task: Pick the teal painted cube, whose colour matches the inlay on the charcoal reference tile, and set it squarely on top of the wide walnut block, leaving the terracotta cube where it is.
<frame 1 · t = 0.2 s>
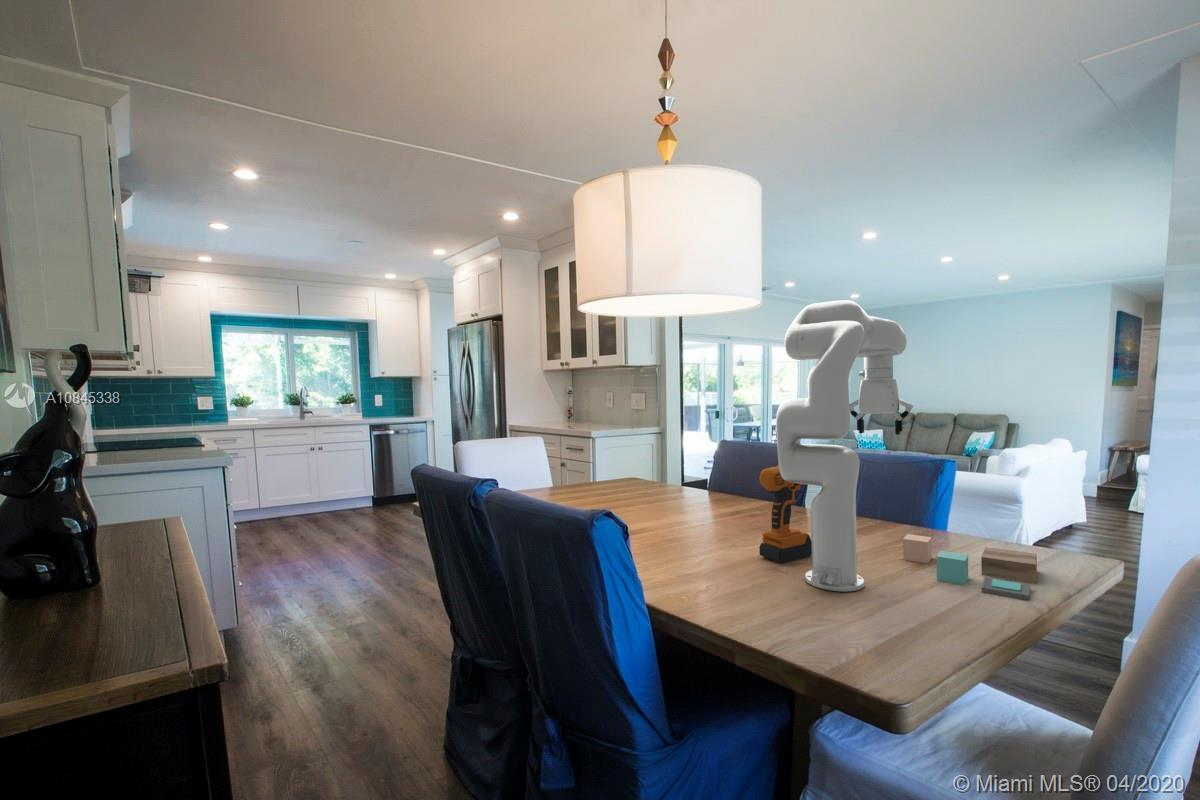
hand: (879, 433, 159), 31 cm above the table, fingers open, 9 cm apart
power drill: (792, 556, 146), on the table
teal block: (952, 579, 126), on the table
reference tile: (1006, 590, 118), on the table
walnut block: (1009, 574, 129), on the table
terracotta block: (917, 559, 141), on the table
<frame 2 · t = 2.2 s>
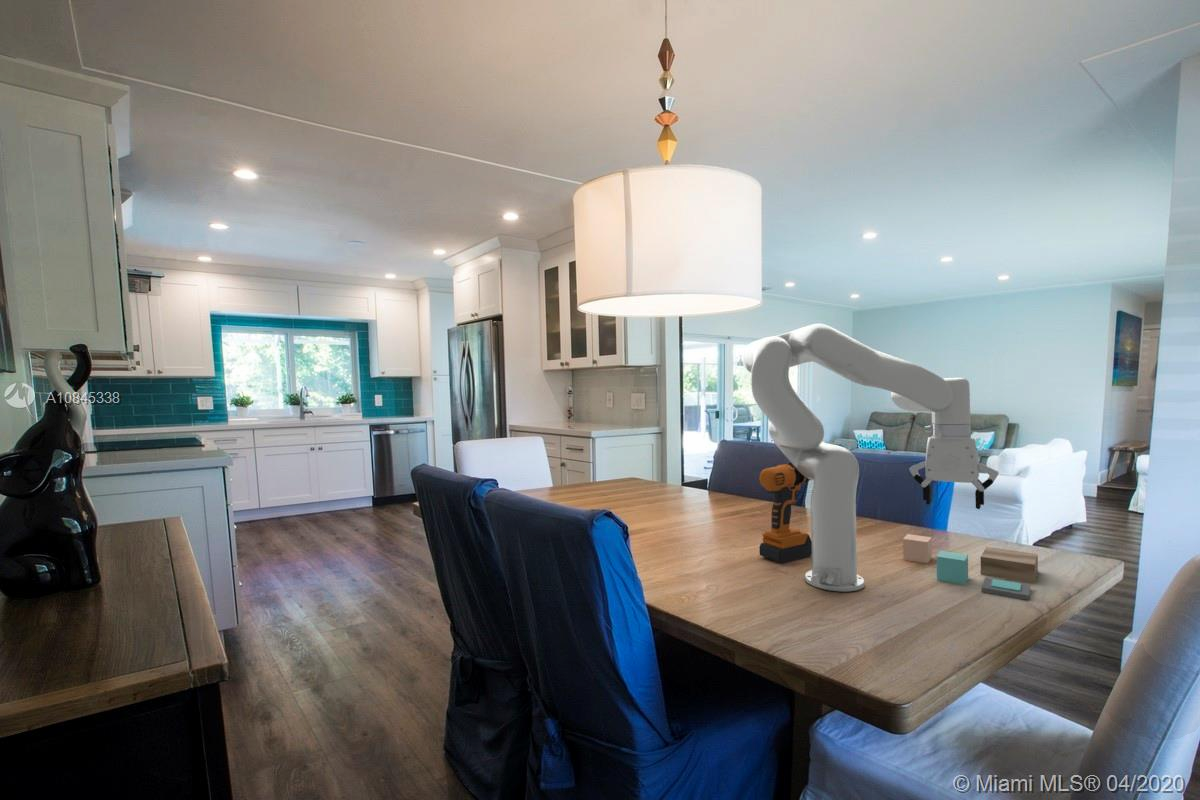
hand: (953, 505, 126), 17 cm above the table, fingers open, 9 cm apart
nothing on the table moved.
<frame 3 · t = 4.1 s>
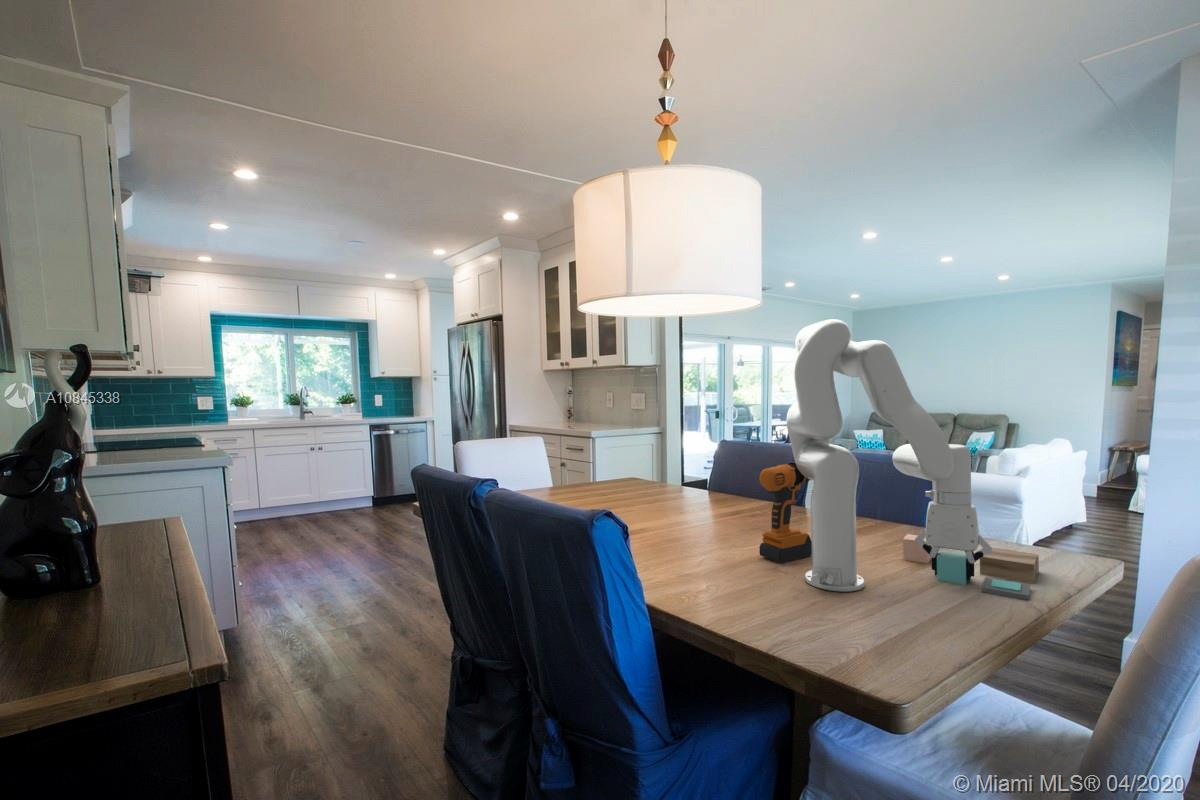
hand: (952, 575, 126), 1 cm above the table, fingers closed on teal block, 5 cm apart
teal block: (952, 578, 126), on the table, touching gripper
everything else where it was.
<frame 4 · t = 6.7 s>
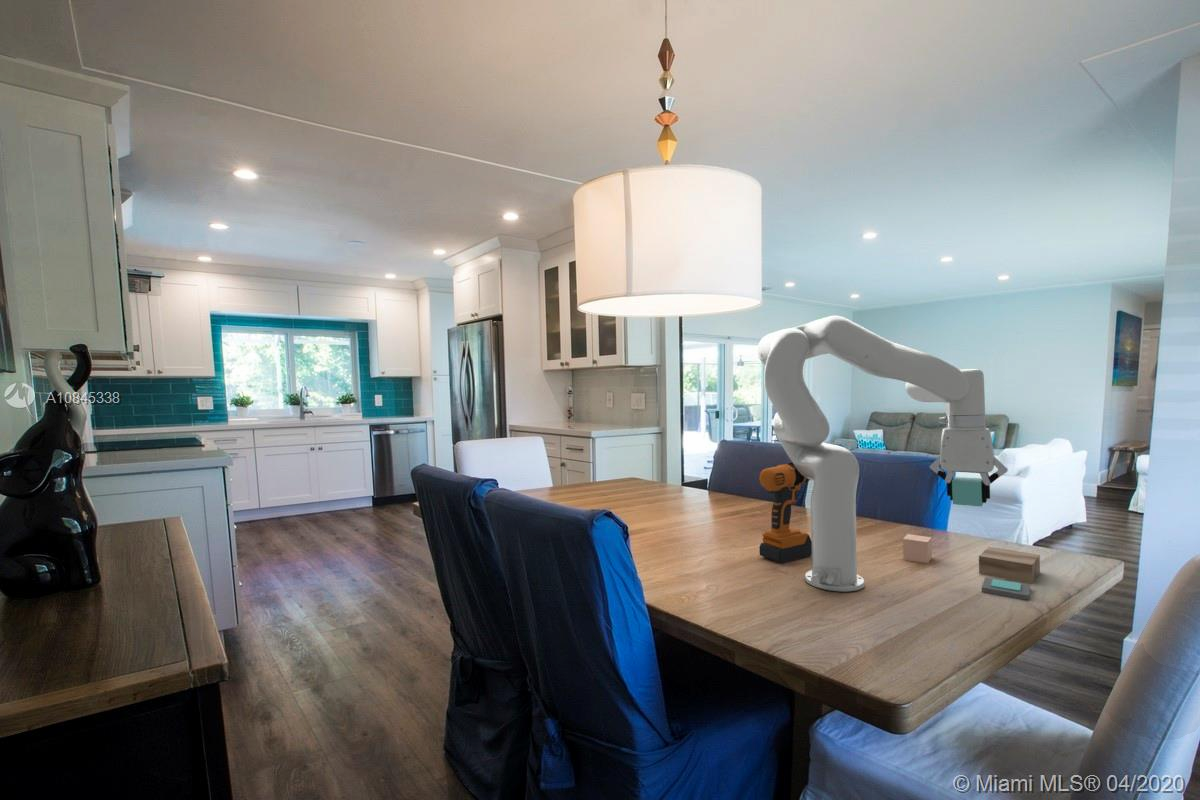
hand: (968, 499, 126), 18 cm above the table, fingers closed on teal block, 5 cm apart
teal block: (968, 503, 126), point 17 cm above the table, touching gripper
everything else where it was.
when the fingers open (6 cm above the table, at t = 9.5 s): teal block stays where it is, point 4 cm above the table.
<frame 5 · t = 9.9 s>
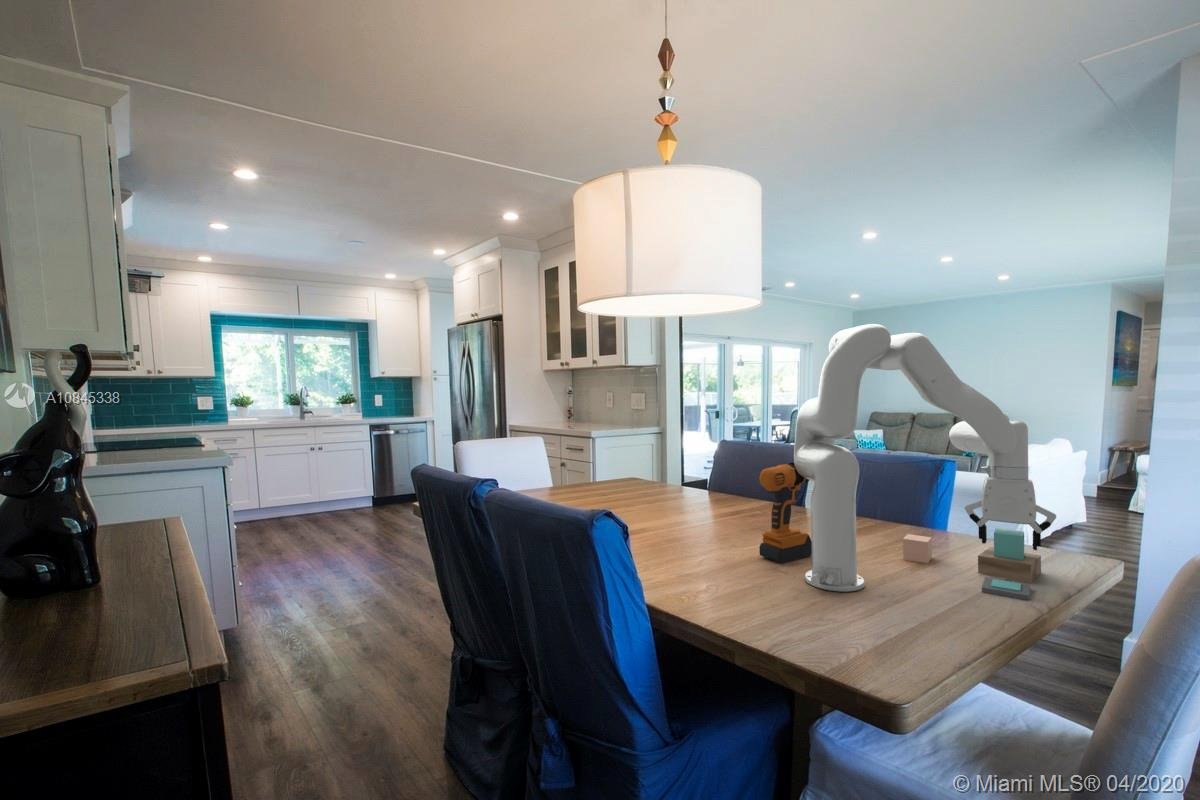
hand: (1009, 545, 129), 6 cm above the table, fingers open, 9 cm apart
teal block: (1009, 555, 129), point 4 cm above the table
everything else where it was.
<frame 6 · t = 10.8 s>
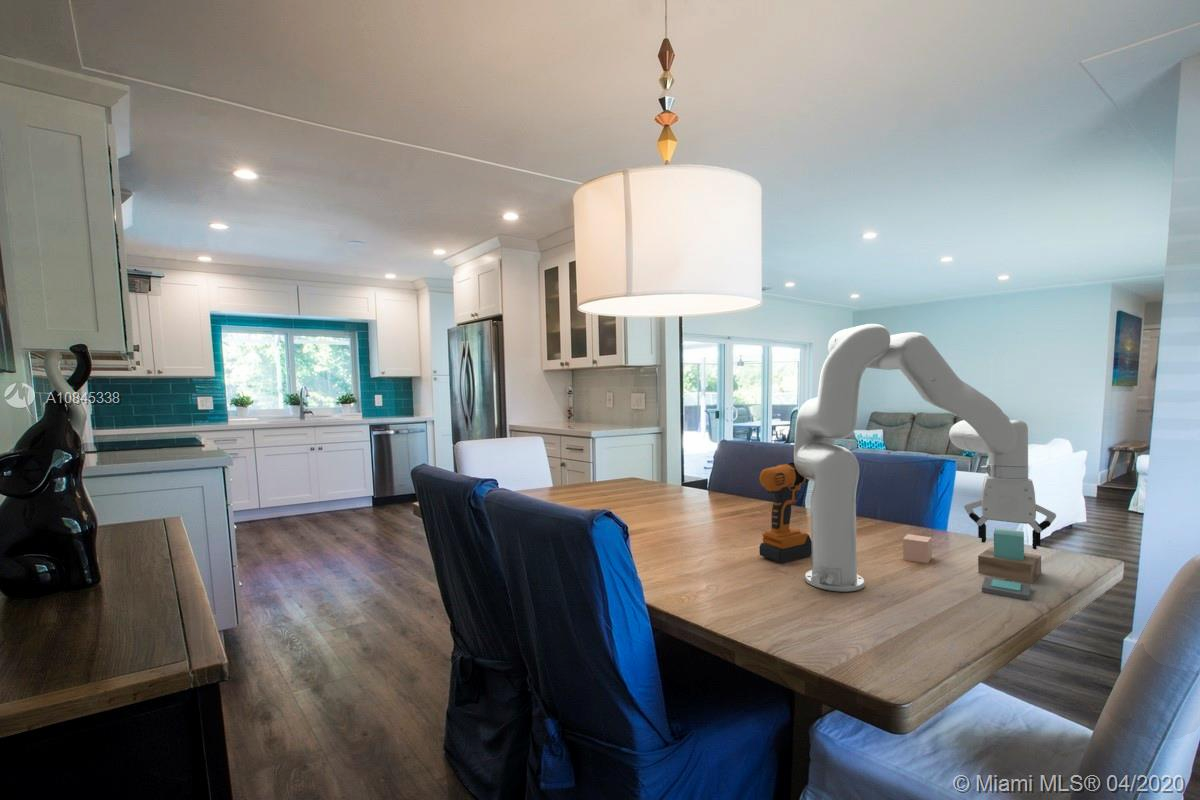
hand: (1008, 544, 129), 7 cm above the table, fingers open, 9 cm apart
teal block: (1009, 555, 129), point 4 cm above the table, touching walnut block
walnut block: (1009, 574, 129), on the table, touching teal block
everything else where it was.
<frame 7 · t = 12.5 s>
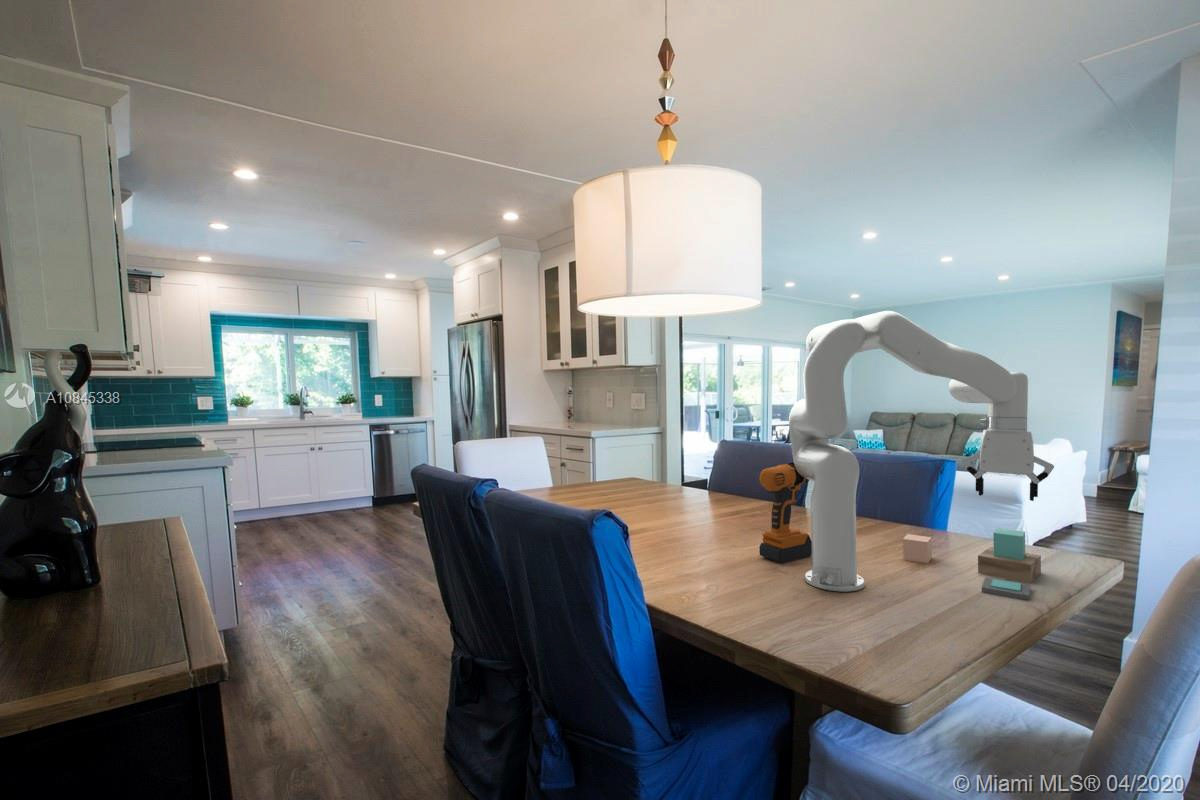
hand: (1005, 497, 129), 18 cm above the table, fingers open, 9 cm apart
nothing on the table moved.
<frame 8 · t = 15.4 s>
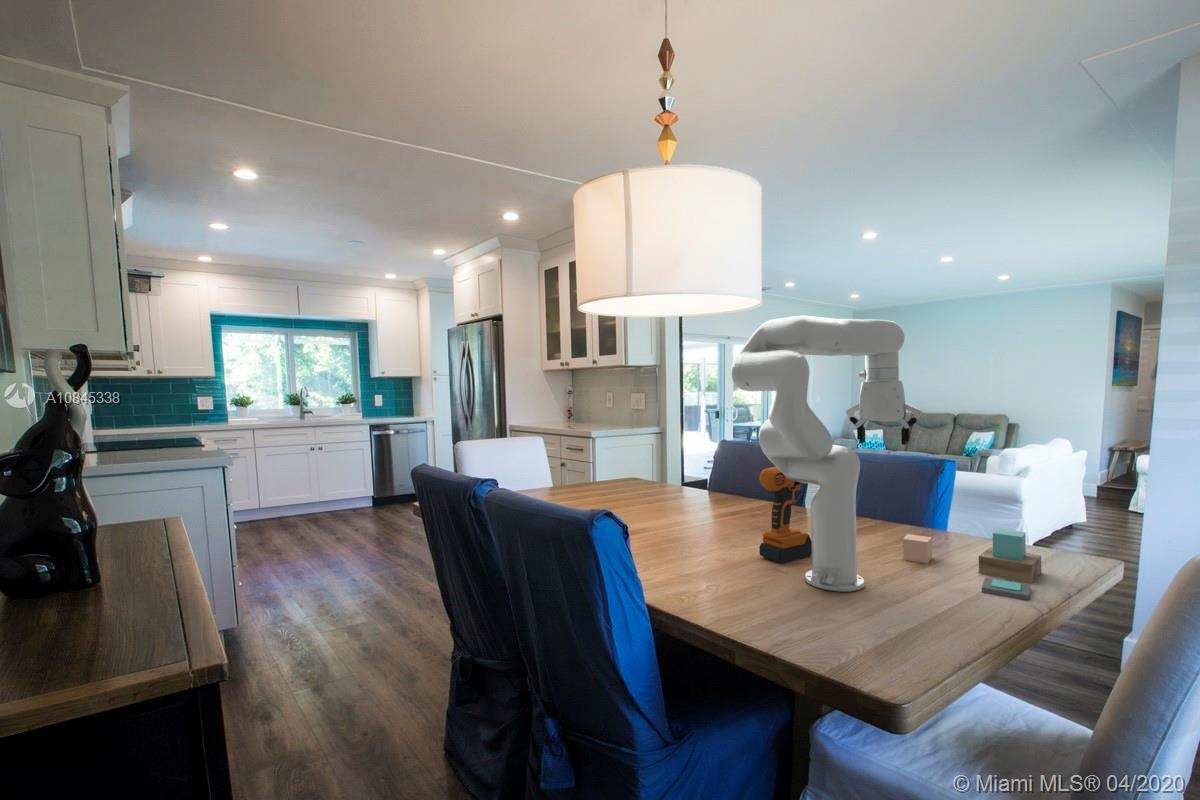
hand: (882, 443, 138), 30 cm above the table, fingers open, 9 cm apart
teal block: (1009, 555, 129), point 4 cm above the table
walnut block: (1010, 574, 129), on the table
everything else where it was.
at the end: teal block 0.4 cm off-centre on the walnut block, point 4.5 cm above the walnut block's base; teal block tilted 0°; terracotta block moved 0.1 cm from its start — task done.
